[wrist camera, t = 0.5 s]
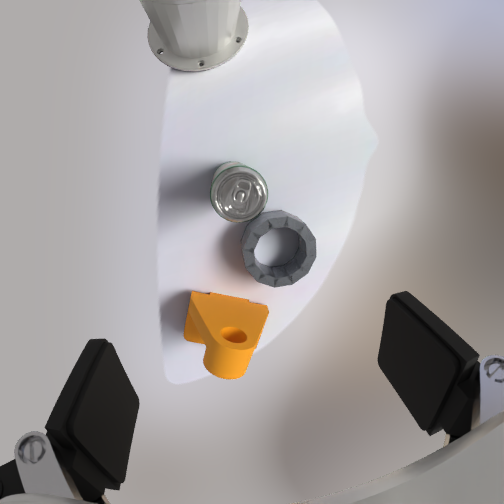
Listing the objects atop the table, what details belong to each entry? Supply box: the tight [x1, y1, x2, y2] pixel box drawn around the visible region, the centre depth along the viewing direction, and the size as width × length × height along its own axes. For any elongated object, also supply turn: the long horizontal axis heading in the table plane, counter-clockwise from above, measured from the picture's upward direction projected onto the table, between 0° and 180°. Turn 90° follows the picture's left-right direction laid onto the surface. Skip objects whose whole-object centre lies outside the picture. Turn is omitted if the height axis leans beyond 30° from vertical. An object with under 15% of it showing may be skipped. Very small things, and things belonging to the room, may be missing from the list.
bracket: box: [184, 291, 269, 379], centre depth 36 cm, size 11×7×12 cm, turn 75°
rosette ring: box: [241, 210, 316, 287], centre depth 37 cm, size 9×9×4 cm
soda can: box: [210, 162, 268, 223], centre depth 29 cm, size 5×5×12 cm
